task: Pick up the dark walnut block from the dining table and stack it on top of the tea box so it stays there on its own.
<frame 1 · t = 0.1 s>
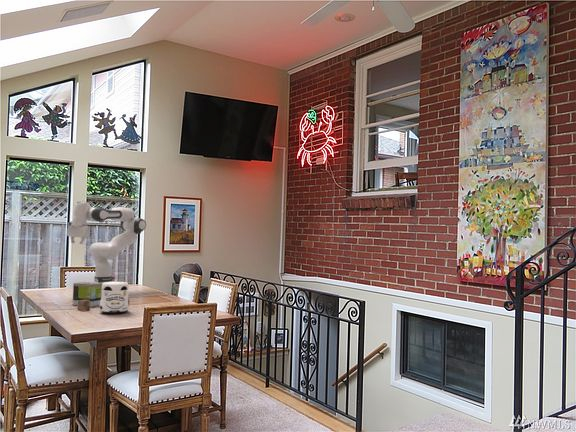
hand: (76, 243, 344), 39 cm above the table, tool pointing down, fingers open, 8 cm apart
milk container: (114, 312, 302), on the table
tea box: (86, 305, 324), on the table
walnut block: (83, 310, 307), on the table
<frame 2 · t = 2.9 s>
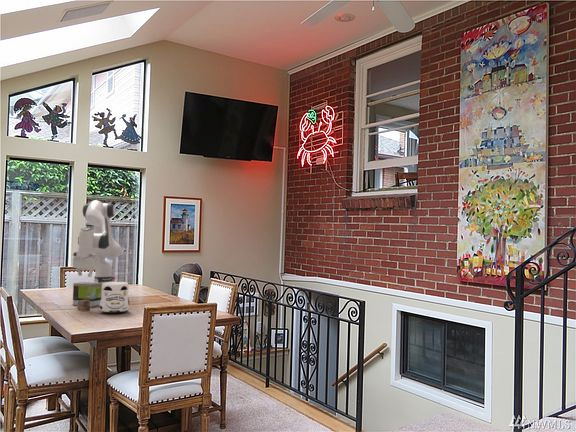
hand: (84, 276, 307), 21 cm above the table, tool pointing down, fingers open, 8 cm apart
nothing on the table moved.
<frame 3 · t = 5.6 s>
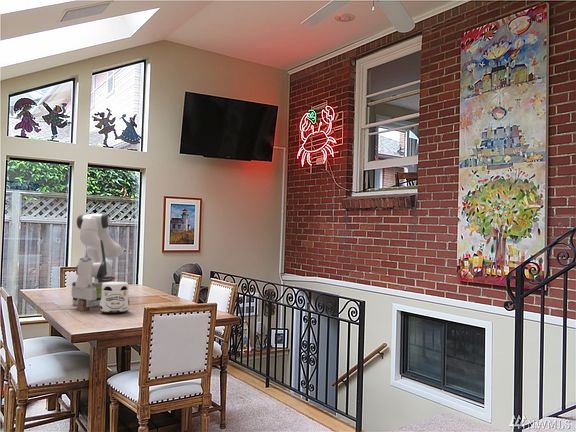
hand: (83, 306, 307), 2 cm above the table, tool pointing down, fingers closed on walnut block, 5 cm apart
walnut block: (83, 309, 307), on the table, touching gripper
everything else where it was.
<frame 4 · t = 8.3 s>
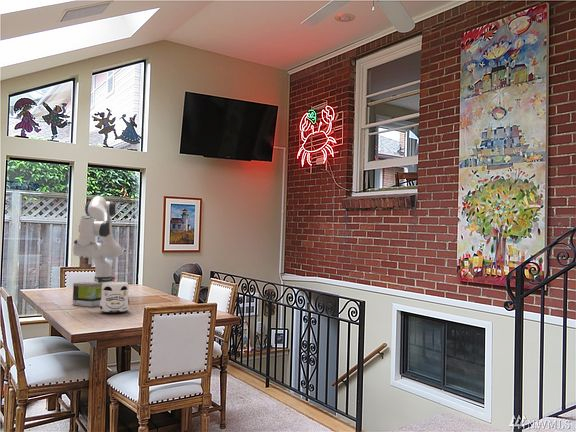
hand: (85, 263, 308), 29 cm above the table, tool pointing down, fingers closed on walnut block, 5 cm apart
walnut block: (85, 267, 307), point 26 cm above the table, touching gripper
everything else where it was.
when the fingers open (19 cm above the table, at t = 11.1 s): walnut block drops 2 cm, resting on tea box.
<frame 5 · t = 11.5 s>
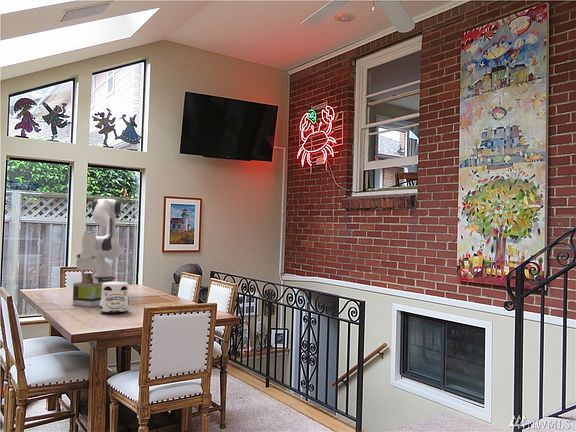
hand: (87, 276, 324), 19 cm above the table, tool pointing down, fingers open, 8 cm apart
tea box: (86, 305, 324), on the table, touching walnut block
walnut block: (87, 282, 324), point 15 cm above the table, touching tea box
everything else where it was.
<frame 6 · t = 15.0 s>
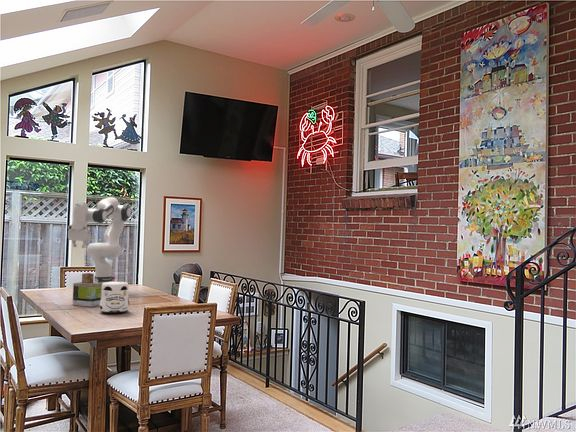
hand: (79, 247, 332), 37 cm above the table, tool pointing down, fingers open, 8 cm apart
nothing on the table moved.
at the end: walnut block inside the target area on the tea box (0.1 cm from its centre), point 15.0 cm above the tea box's base; walnut block tilted 0°; the gripper is holding nothing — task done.
